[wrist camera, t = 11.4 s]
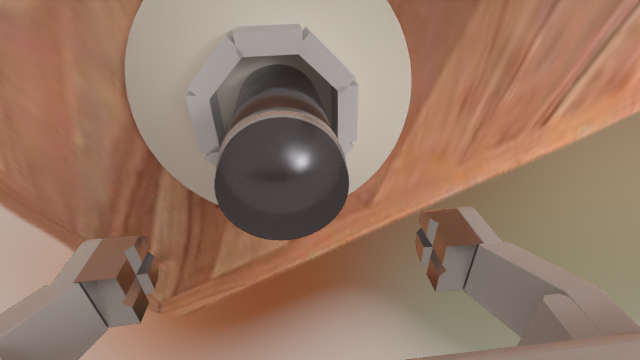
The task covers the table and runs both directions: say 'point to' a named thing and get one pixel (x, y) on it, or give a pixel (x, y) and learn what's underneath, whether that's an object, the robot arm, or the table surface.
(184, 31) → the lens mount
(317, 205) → the lens
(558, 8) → the table surface
